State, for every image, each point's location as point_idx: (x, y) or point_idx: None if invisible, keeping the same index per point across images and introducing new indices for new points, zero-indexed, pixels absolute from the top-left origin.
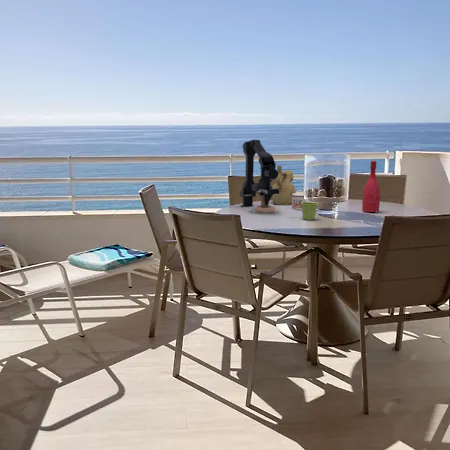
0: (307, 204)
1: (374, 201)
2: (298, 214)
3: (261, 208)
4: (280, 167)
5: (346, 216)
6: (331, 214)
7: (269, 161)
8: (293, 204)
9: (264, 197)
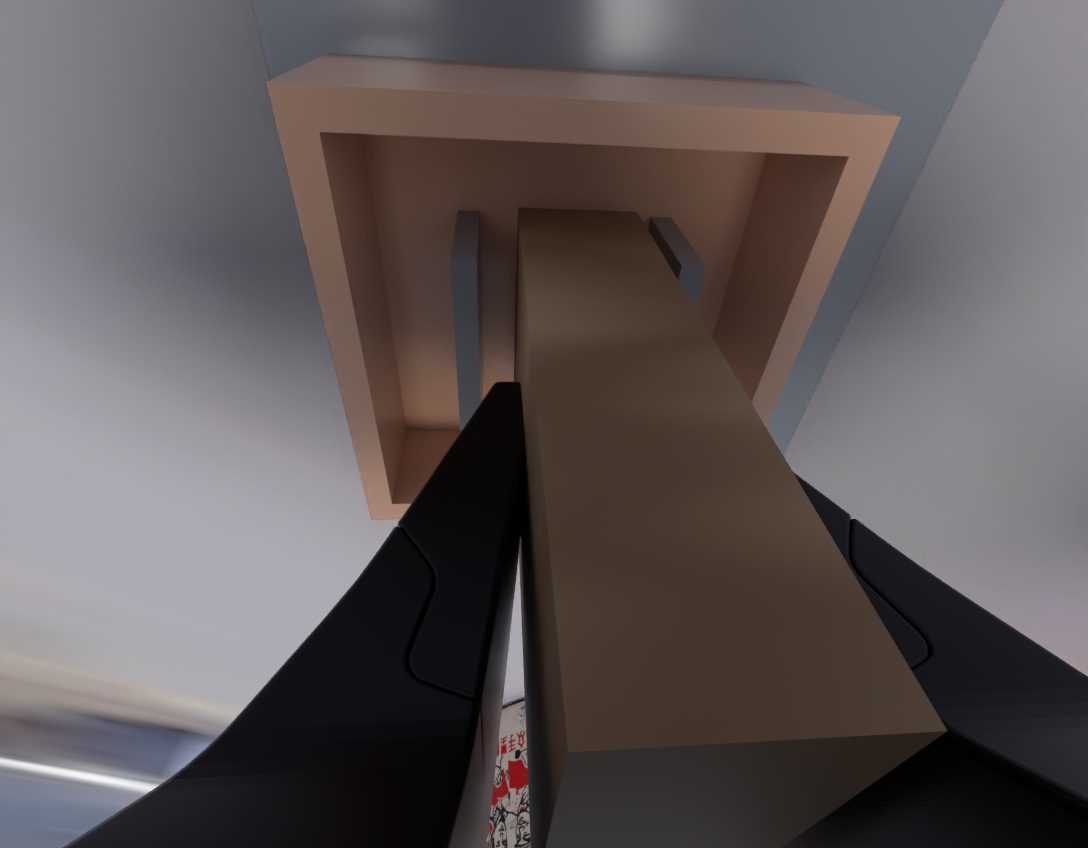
0: None
1: None
2: (236, 622)
3: (444, 86)
4: None
5: (21, 798)
6: (161, 774)
7: None
8: None
9: (541, 627)
